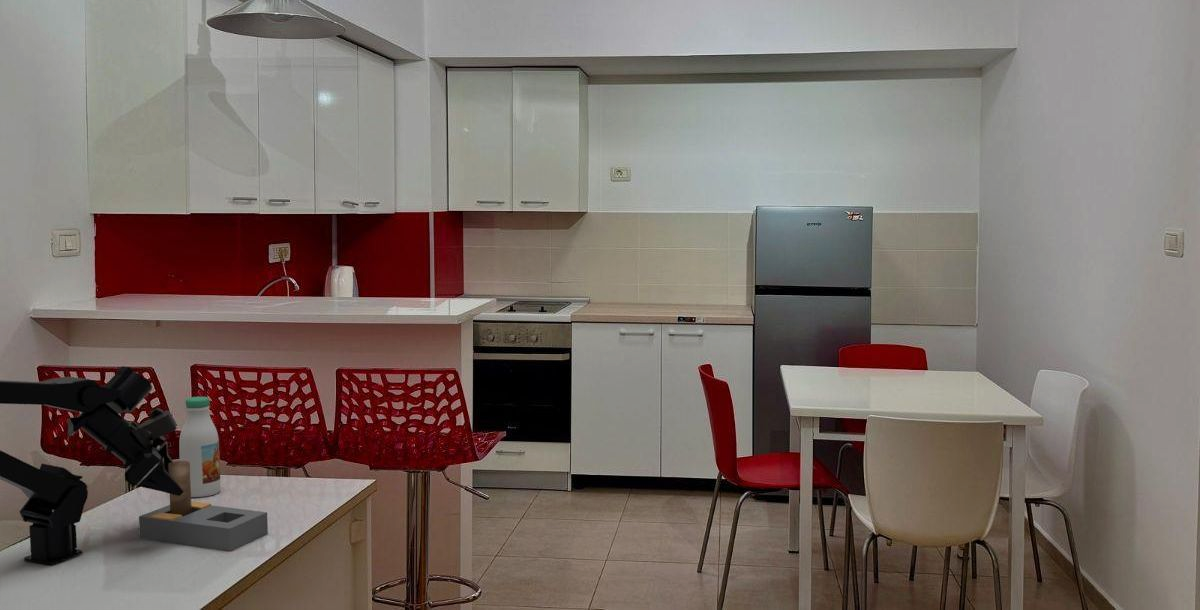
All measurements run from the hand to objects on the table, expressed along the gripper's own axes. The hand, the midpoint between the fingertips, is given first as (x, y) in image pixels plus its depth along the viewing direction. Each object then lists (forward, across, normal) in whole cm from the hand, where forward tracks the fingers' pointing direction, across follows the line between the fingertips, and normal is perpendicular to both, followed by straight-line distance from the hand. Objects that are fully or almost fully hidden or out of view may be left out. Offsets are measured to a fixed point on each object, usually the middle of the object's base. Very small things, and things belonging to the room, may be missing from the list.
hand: (182, 486), depth 187 cm
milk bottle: (+8, +27, +5) cm, 28 cm away
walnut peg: (+6, 0, +6) cm, 9 cm away
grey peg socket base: (+8, -3, +4) cm, 10 cm away
